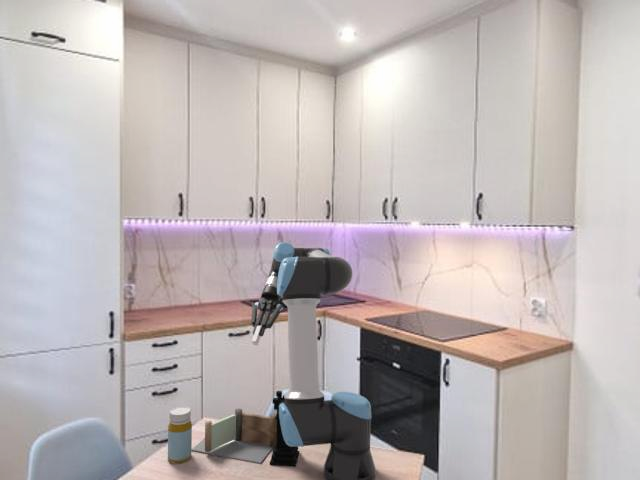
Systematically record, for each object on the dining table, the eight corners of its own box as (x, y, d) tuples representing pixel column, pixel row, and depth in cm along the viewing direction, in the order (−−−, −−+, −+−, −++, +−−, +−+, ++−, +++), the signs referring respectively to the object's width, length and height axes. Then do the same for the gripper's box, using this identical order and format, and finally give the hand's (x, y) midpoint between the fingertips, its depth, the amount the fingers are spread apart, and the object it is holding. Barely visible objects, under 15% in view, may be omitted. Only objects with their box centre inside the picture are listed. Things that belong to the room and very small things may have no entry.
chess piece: (299, 453, 142) (300, 391, 142) (295, 466, 134) (297, 401, 134) (274, 451, 143) (276, 390, 142) (269, 464, 135) (270, 400, 134)
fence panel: (232, 437, 149) (233, 410, 149) (236, 439, 148) (237, 412, 147) (203, 450, 140) (203, 422, 140) (207, 452, 139) (207, 424, 138)
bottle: (191, 451, 142) (191, 405, 141) (191, 462, 135) (192, 414, 135) (167, 454, 140) (168, 407, 139) (167, 465, 133) (168, 416, 133)
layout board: (279, 439, 151) (279, 438, 151) (260, 463, 136) (260, 462, 136) (216, 429, 158) (216, 427, 158) (191, 450, 142) (191, 449, 142)
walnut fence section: (278, 444, 147) (278, 414, 147) (275, 447, 145) (276, 417, 144) (236, 437, 151) (237, 408, 151) (233, 440, 149) (233, 410, 149)
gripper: (290, 297, 176) (274, 350, 161) (260, 295, 180) (241, 346, 165) (286, 285, 171) (268, 339, 156) (255, 283, 175) (235, 335, 159)
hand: (254, 343), depth 160 cm, fingers closed
